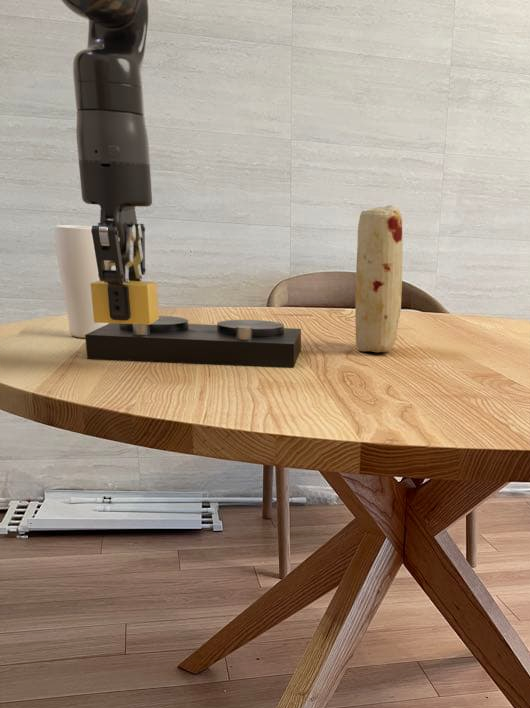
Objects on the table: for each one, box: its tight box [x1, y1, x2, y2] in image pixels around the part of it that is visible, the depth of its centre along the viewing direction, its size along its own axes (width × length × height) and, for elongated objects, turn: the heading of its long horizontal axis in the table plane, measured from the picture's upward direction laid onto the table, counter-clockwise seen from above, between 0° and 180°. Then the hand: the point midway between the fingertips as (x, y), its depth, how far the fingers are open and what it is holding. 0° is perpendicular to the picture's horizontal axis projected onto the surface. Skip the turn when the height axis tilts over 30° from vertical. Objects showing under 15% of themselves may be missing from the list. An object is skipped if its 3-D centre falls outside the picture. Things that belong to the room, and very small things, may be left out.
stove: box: [84, 315, 302, 369], centre depth 111 cm, size 26×14×5 cm, turn 93°
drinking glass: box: [54, 224, 109, 339], centre depth 118 cm, size 7×7×15 cm
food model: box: [354, 204, 404, 353], centre depth 118 cm, size 10×7×20 cm
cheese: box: [91, 280, 160, 325], centre depth 97 cm, size 6×5×4 cm
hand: (126, 316), depth 98 cm, fingers closed on cheese, 4 cm apart
